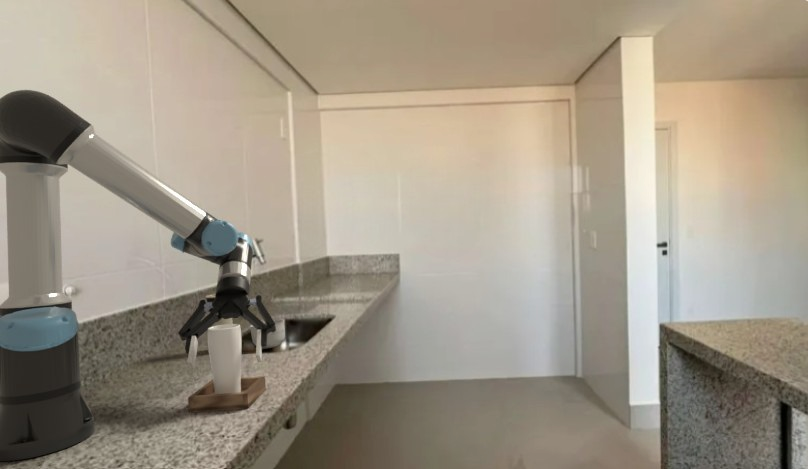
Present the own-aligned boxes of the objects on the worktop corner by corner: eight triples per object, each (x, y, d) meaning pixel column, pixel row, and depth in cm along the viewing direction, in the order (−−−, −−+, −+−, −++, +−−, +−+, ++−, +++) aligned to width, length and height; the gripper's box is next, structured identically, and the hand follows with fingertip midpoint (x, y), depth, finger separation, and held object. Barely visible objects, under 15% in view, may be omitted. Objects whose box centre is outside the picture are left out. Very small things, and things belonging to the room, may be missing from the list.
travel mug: (234, 346, 158) (230, 292, 158) (234, 351, 150) (230, 294, 151) (208, 349, 155) (205, 295, 155) (207, 354, 148) (203, 297, 148)
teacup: (277, 350, 148) (275, 324, 148) (245, 351, 150) (243, 325, 150) (294, 340, 162) (293, 317, 162) (264, 341, 163) (263, 318, 163)
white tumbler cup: (233, 402, 97) (229, 329, 97) (204, 401, 98) (200, 330, 99) (250, 391, 104) (246, 323, 104) (223, 391, 105) (219, 324, 105)
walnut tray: (188, 412, 95) (188, 397, 95) (213, 393, 107) (212, 379, 107) (248, 408, 95) (247, 393, 95) (265, 389, 107) (264, 376, 107)
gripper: (288, 290, 119) (287, 365, 104) (182, 299, 114) (166, 378, 99) (285, 270, 113) (284, 346, 98) (174, 278, 109) (156, 359, 94)
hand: (225, 362), depth 99 cm, fingers open, 13 cm apart
